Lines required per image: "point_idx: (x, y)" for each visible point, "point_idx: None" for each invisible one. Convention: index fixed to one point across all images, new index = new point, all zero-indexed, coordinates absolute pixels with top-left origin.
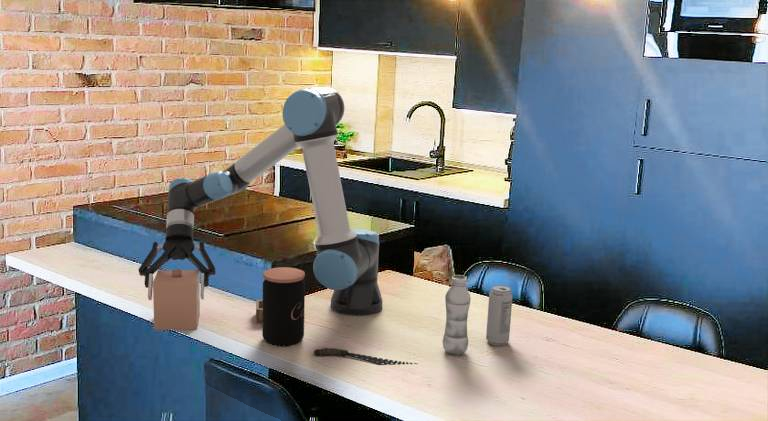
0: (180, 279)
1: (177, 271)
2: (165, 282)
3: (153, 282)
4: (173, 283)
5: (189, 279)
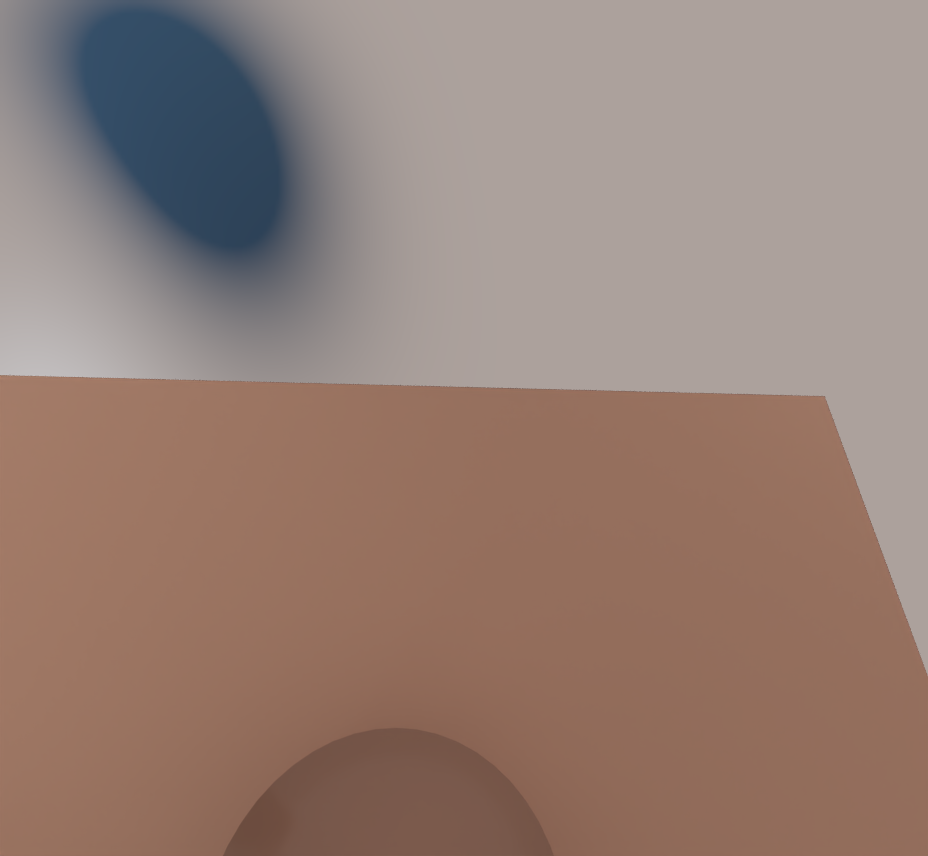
0: (300, 572)
1: (354, 762)
2: (596, 399)
3: (821, 409)
4: (443, 394)
5: (87, 563)
